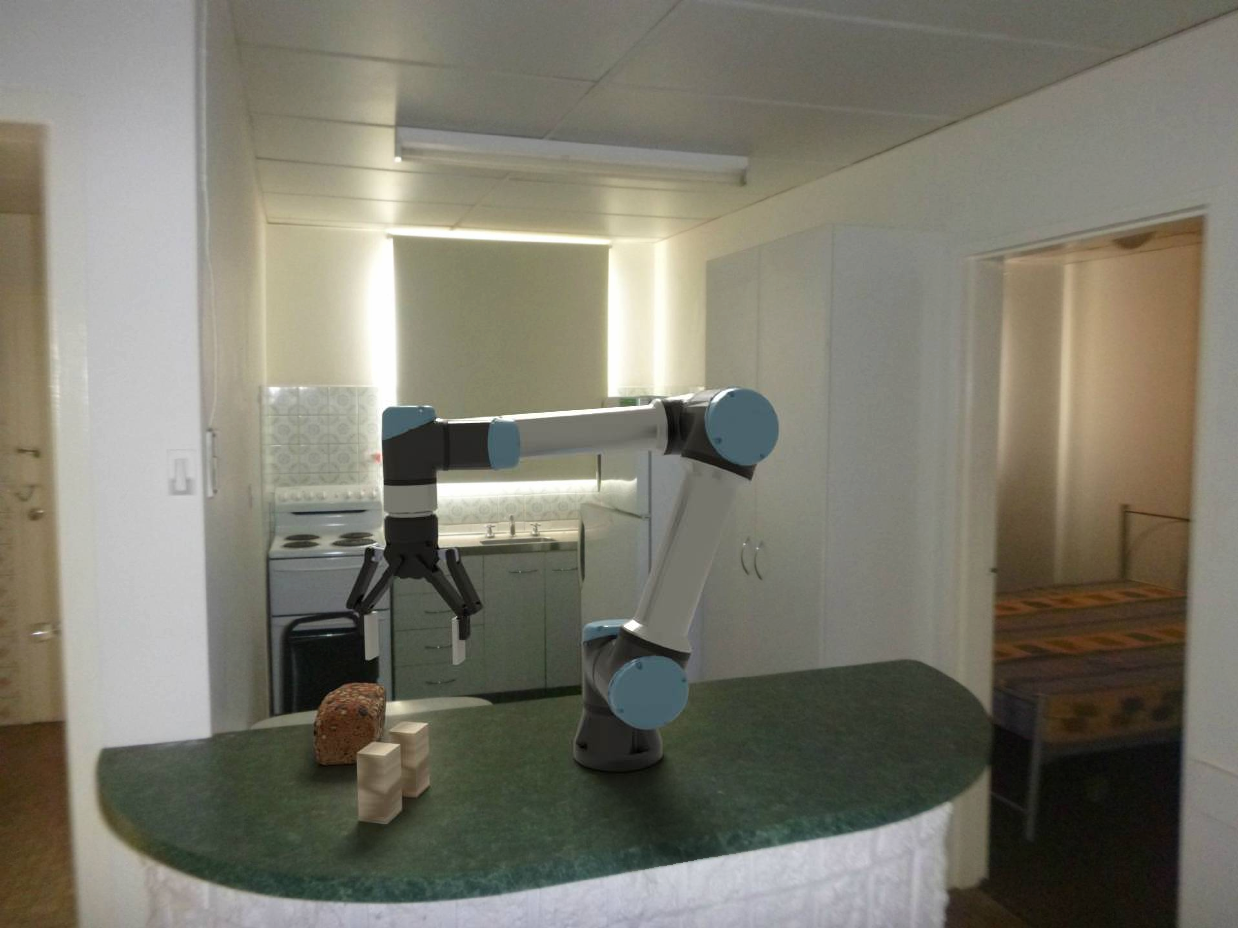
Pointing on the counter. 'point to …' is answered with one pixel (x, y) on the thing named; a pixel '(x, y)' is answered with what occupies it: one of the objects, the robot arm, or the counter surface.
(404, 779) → the light wood tall block
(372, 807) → the light wood rectangular bar
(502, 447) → the robot arm
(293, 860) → the counter surface
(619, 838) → the counter surface
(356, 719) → the bread
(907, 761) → the counter surface
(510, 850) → the counter surface
